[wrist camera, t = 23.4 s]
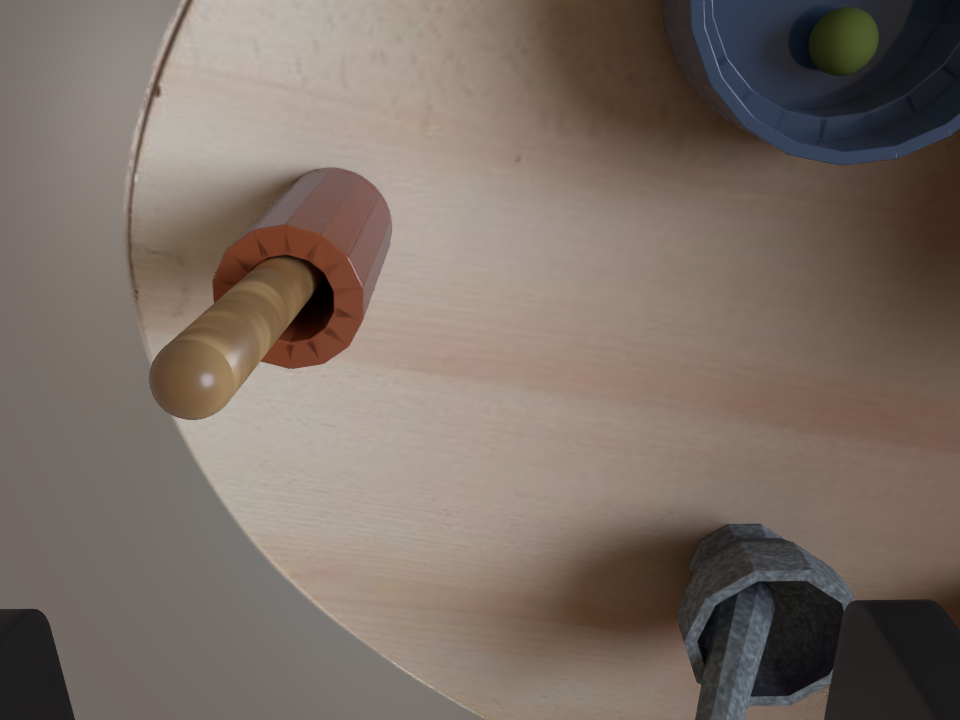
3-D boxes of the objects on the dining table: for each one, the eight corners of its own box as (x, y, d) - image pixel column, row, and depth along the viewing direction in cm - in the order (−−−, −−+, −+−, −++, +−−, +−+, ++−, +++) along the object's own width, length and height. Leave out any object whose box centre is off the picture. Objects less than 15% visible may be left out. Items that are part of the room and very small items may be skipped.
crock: (259, 247, 46) (189, 328, 35) (307, 145, 44) (249, 197, 33) (361, 299, 48) (324, 392, 36) (412, 201, 45) (389, 270, 34)
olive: (787, 60, 42) (822, 6, 42) (839, 94, 42) (874, 40, 42) (809, 43, 39) (847, -16, 39) (865, 79, 39) (903, 21, 39)
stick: (302, 239, 45) (122, 408, 24) (322, 198, 45) (154, 338, 24) (344, 261, 46) (201, 447, 25) (364, 221, 45) (235, 379, 24)
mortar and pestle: (771, 471, 52) (850, 602, 41) (845, 575, 55) (938, 723, 44) (613, 565, 54) (646, 712, 43) (692, 659, 57) (742, 819, 46)
